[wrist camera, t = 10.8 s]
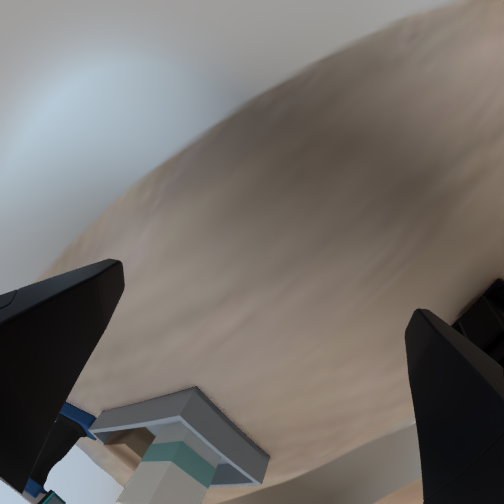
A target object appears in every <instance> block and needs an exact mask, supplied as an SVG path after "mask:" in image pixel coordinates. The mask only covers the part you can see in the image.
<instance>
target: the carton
mask: <svg viewBox="0 0 504 504" xmlns="http://www.w3.org/2000/svg"><path fill="white" fill-rule="evenodd" d="M220 458H221V456H220V455H218V454H217V453H216V452H215V451H214V450H212V449H211V448H210V447H209V446H208V445H207V444H205V443H204V442H203V441H202V440H201V439H200V438H199V437H197V436H196V435H195V434H194V433H193V432H192V431H191V430H190V429H189V428H187V427H186V426H185V425H184V424H183V423H176V424H171V425H165V426H162V428H161V429H160V431H159V432H158V434H157V436H156V437H155V439H154V441H153V442H152V444H151V445H150V446H149V448H148V449H147V451H146V453H145V454H144V456H143V458H142V459H141V461H140V464H139V465H138V467H137V469H136V470H135V472H134V473H133V475H132V477H131V478H130V480H129V482H128V483H127V485H126V486H125V488H124V490H123V491H122V493H121V495H120V496H119V498H118V499H117V501H116V502H117V503H118V504H201V502H202V500H203V498H204V496H205V493H206V491H207V489H208V488H209V486H210V483H211V481H212V479H213V476H214V474H215V472H216V468H217V465H218V463H219V460H220Z"/></svg>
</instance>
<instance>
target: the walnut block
mask: <svg viewBox="0 0 504 504" xmlns="http://www.w3.org/2000/svg"><path fill="white" fill-rule="evenodd" d="M155 437H156V436H155V435H154V434H153V433H151V432H150V431H149V430H148V429H147V428H146V427H138V428H131V429H124V430H116V431H113V432H112V434H111V435H110V436H109V438H108V439H107V440H106V442H105V443H104V446H105V447H106V448H107V449H108V450H109V451H110V452H112V453H113V454H114V455H115V456H116V457H117V458H119V459H120V460H121V461H122V462H123V463H125V464H126V465H127V466H128V467H129V468H131V469H132V470H133V471H134V472H135V470H136V469H137V467H138V465H139V464H140V461H141V459H142V458H143V456H144V454H145V453H146V451H147V449H148V448H149V446H150V445H151V444H152V442H153V441H154V439H155Z"/></svg>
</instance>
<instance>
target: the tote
mask: <svg viewBox="0 0 504 504" xmlns="http://www.w3.org/2000/svg"><path fill="white" fill-rule="evenodd" d="M176 423H183V424H184V425H185V426H186V427H187V428H189V429H190V430H191V431H192V432H193V433H194V434H195V435H196V436H197V437H199V438H200V439H201V440H202V441H203V442H204V443H205V444H207V445H208V446H209V447H210V448H211V449H212V450H214V451H215V452H216V453H217V454H218V455H220V456H221V458H220V460H219V463H218V465H217V468H216V472H215V474H214V476H213V479H212V481H211V483H210V486H209V487H232V486H249V485H262V482H263V479H264V476H265V472H266V469H267V466H268V462H269V459H270V457H269V456H268V455H267V454H266V453H265V452H264V451H263V450H261V449H260V448H259V447H258V446H257V445H256V444H255V443H254V442H252V441H251V440H250V439H249V438H248V437H247V436H246V435H245V434H244V433H243V432H242V431H240V430H239V429H238V428H237V427H236V426H235V425H234V424H233V423H232V422H231V421H230V420H229V419H228V418H227V417H226V416H225V415H224V414H223V413H222V412H221V411H220V410H219V409H218V408H217V407H216V406H215V405H214V404H213V403H212V402H211V401H210V400H209V399H208V398H207V397H206V396H205V395H204V394H203V393H202V392H201V391H200V390H199V389H198V388H197V387H193V388H189V389H186V390H183V391H179V392H176V393H173V394H169V395H166V396H162V397H159V398H155V399H151V400H148V401H144V402H140V403H136V404H132V405H128V406H124V407H120V408H116V409H112V410H108V411H103V412H102V413H101V414H100V415H99V417H98V418H97V419H96V420H95V422H94V423H93V424H92V425H91V427H90V428H89V429H88V431H89V432H90V433H91V434H92V435H93V436H94V437H95V438H97V439H98V440H99V441H100V442H101V443H102V444H103V445H104V443H105V442H106V440H107V439H108V438H109V436H110V435H111V434H112V432H113V431H116V430H124V429H131V428H138V427H146V428H147V429H148V430H149V431H150V432H151V433H153V434H154V435H155V436H157V434H158V432H159V431H160V429H161V428H162V426H165V425H171V424H176Z"/></svg>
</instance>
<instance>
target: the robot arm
mask: <svg viewBox="0 0 504 504" xmlns="http://www.w3.org/2000/svg"><path fill="white" fill-rule="evenodd" d="M501 284H502V285H501ZM499 285H501V287H500V288H498V287H499ZM124 287H125V282H124V273H123V264H122V262H121V261H119V260H114V259H107V260H103V261H100V262H97V263H94V264H91V265H88V266H85V267H82V268H79V269H76V270H73V271H70V272H67V273H64V274H61V275H58V276H55V277H52V278H49V279H46V280H43V281H40V282H37V283H34V284H31V285H28V286H25V287H22V288H20V289H18V290H14V291H11V292H8V293H5V294H2V295H0V480H2V481H3V482H5V483H6V484H7V485H9V486H10V487H11V488H13V489H14V490H16V491H17V492H19V493H20V494H22V493H23V492H24V490H25V487H26V485H27V482H28V480H29V478H30V475H31V473H32V471H33V468H34V466H35V464H36V462H37V459H38V457H39V455H40V453H41V451H42V448H43V446H44V444H45V442H46V440H47V437H48V435H49V433H50V431H51V429H52V427H53V425H54V423H55V421H56V419H57V417H58V415H59V413H60V411H61V409H62V407H63V405H64V403H65V401H66V399H67V397H68V395H69V394H70V392H71V390H72V388H73V386H74V384H75V382H76V381H77V379H78V377H79V375H80V373H81V371H82V370H83V368H84V366H85V364H86V362H87V361H88V359H89V357H90V355H91V354H92V352H93V350H94V348H95V347H96V345H97V343H98V342H99V340H100V338H101V336H102V335H103V333H104V331H105V329H106V327H107V325H108V323H109V321H110V319H111V317H112V315H113V313H114V310H115V308H116V306H117V304H118V302H119V300H120V298H121V295H122V293H123V291H124ZM405 344H406V354H407V365H408V375H409V382H410V388H411V394H412V400H413V406H414V412H415V419H416V426H417V433H418V441H419V449H420V459H421V470H422V483H423V500H424V502H423V504H504V280H503V279H498V280H496V281H495V283H494V284H493V285H492V286H491V287H490V288H489V289H488V290H487V291H486V293H485V294H484V295H483V296H482V297H481V298H480V299H479V300H478V301H477V302H476V303H475V304H474V305H473V306H472V307H471V308H470V309H469V310H468V311H467V312H466V313H465V314H464V315H463V316H462V317H461V318H460V319H459V320H458V321H457V322H456V323H455V324H454V325H453V326H452V327H451V326H450V325H448V324H447V323H446V322H444V321H443V320H442V319H440V318H439V317H438V316H436V315H435V314H434V313H432V312H431V311H430V310H427V309H420V308H418V309H416V310H415V311H414V313H413V315H412V317H411V319H410V322H409V324H408V326H407V328H406V331H405Z"/></svg>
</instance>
